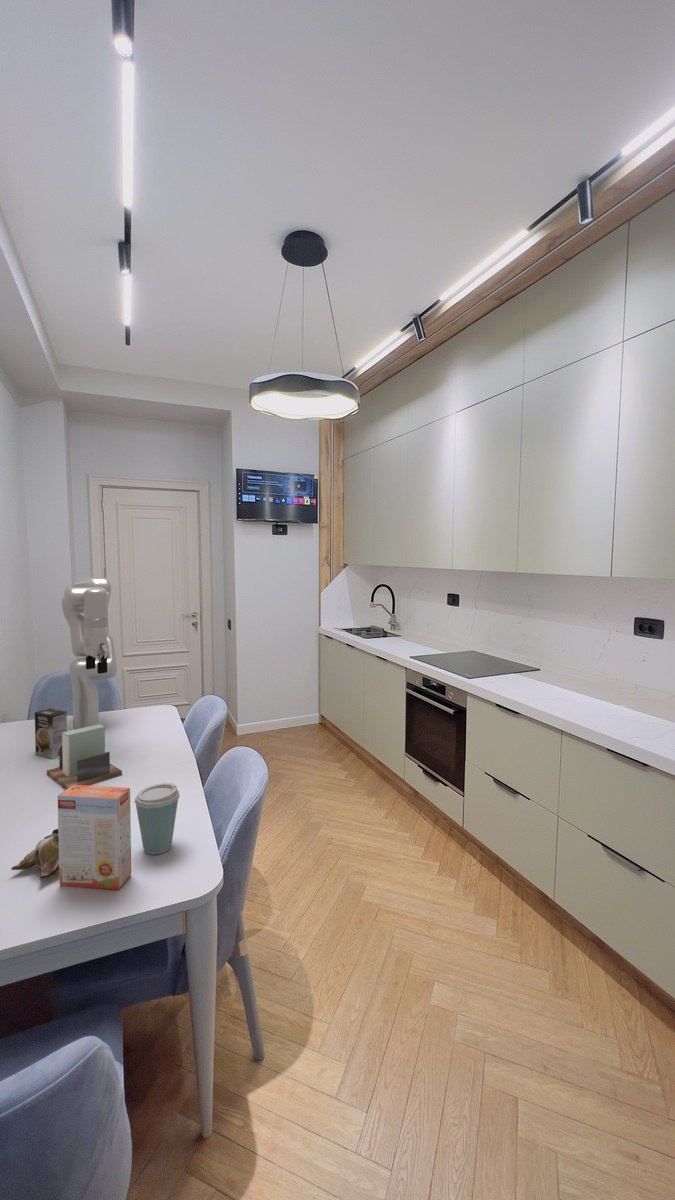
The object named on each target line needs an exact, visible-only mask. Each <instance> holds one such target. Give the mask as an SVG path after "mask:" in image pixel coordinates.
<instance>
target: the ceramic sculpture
mask: <svg viewBox="0 0 675 1200" xmlns="http://www.w3.org/2000/svg"><path fill="white" fill-rule="evenodd" d="M35 866H37V867H38V868H40V870H41V871H40V875H39V878H38V880H39V881H40V880H43V879H47V878H50V877H52V876H54V875H55V874H56V873H58V872H59V838H58V828H57V829H54V830H52V832H51V834H49V835H47V836H45V837H43V839H40V840H39V841H38V843H37V844H36V846H35V849H34V850H32V851H30V852H29V853H27V855H25V856H24V857H23V859H22V860H20V862H19V863H18V864H16V865H14V866H11V867H10V869H11V871H21V870H23V871H24V870H29V869H31V868H34V867H35Z"/></svg>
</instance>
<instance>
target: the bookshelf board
mask: <svg viewBox="0 0 675 1200" xmlns="http://www.w3.org/2000/svg"><path fill="white" fill-rule="evenodd" d="M110 753H111V752H110V751H107V752H106V751H105V753H102V754H98V755H94V756H90V757H87V758H83V759H79V760H77V775H75V776H72V777H66V776H65V775H64V774H63V756H62V747H61V748H59V757H58V758H59V759H58V760H59V765H58V767H55V768H50V769H47V770H46V775H47V776H48V777H49V778H50V779H51V780H53V781H55V783H57V784H58V785H59V786H60V787H62V788H63V789H64V791H65V790H66V789H68V788H69V787H71V786H72V785H88V786H92V785H95V784H98V783H101V782H104V781H107V780H111V779H113V778H117V777H121V776H123V770H121V769H120V768H118V767H117V766H115V765H113V764H112V763H110V762H111V761H110V759H111V758H110V756H111V755H110Z"/></svg>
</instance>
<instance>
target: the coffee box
mask: <svg viewBox="0 0 675 1200" xmlns="http://www.w3.org/2000/svg"><path fill="white" fill-rule="evenodd" d="M67 718H68V716H67V711H64V710H60V709H54V708H47V709H43V710H39V711H35V712H34V733H35V734H34V739H35V741H34V744H35V755H36V756H39V757H43V758H47V759H52V760H53V759H56V758H59V748H61V747H62V732H67V730H68V729H67V727H68V724H67V721H68V719H67Z"/></svg>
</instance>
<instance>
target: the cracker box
mask: <svg viewBox="0 0 675 1200" xmlns="http://www.w3.org/2000/svg"><path fill="white" fill-rule="evenodd" d="M131 817H132V816H131V788H130V787H123V786H119V787H118V786H102V785H72V786H71V787H69V788H68V789H66V790H65V789H64V791H62V792H60V793H58V795H57V829H58V838H59V870H58V875H59V876H58V878H59V885H60V886H64V887H65V886H67V887H78V888H81V887H82V888H89V889H90V888H92V889H103V890H104V889H106V890H116V891H117V890H120V888H121V887H122V886H123V885H124V884H125V882H127V880H128V879H129V878H130V877H131V876H132V835H131V833H132V830H131V826H132V825H131V823H132V821H131V820H132V819H131Z"/></svg>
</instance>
